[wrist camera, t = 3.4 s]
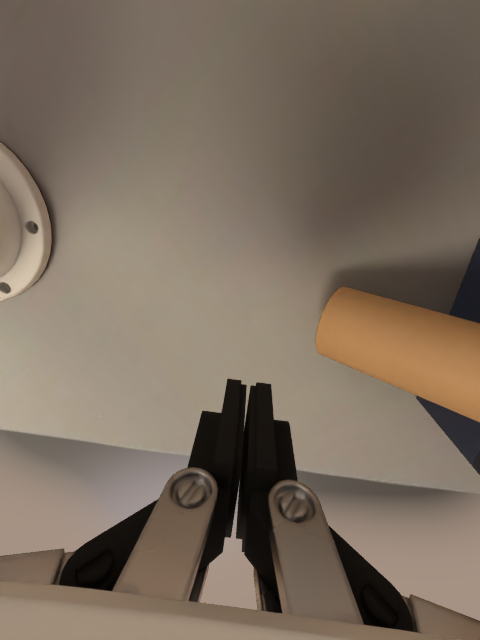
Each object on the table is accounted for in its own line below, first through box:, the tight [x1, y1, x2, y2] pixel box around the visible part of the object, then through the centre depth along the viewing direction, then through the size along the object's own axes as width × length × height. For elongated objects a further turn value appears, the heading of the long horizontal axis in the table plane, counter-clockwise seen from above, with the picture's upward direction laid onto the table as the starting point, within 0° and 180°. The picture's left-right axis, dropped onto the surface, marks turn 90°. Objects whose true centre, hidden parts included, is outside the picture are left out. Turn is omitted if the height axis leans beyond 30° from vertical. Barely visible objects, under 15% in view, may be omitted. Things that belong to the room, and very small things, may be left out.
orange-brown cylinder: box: [315, 287, 480, 422], centre depth 19 cm, size 11×5×10 cm, turn 84°
